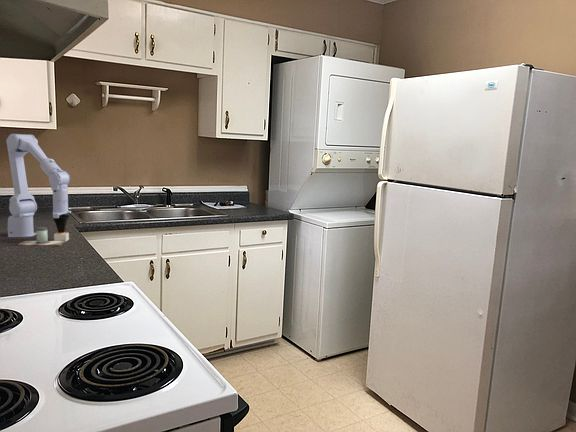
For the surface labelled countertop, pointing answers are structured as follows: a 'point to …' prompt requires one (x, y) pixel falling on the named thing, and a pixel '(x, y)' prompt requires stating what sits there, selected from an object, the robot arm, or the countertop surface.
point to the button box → (61, 237)
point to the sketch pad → (34, 243)
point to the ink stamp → (42, 234)
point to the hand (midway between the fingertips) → (61, 232)
